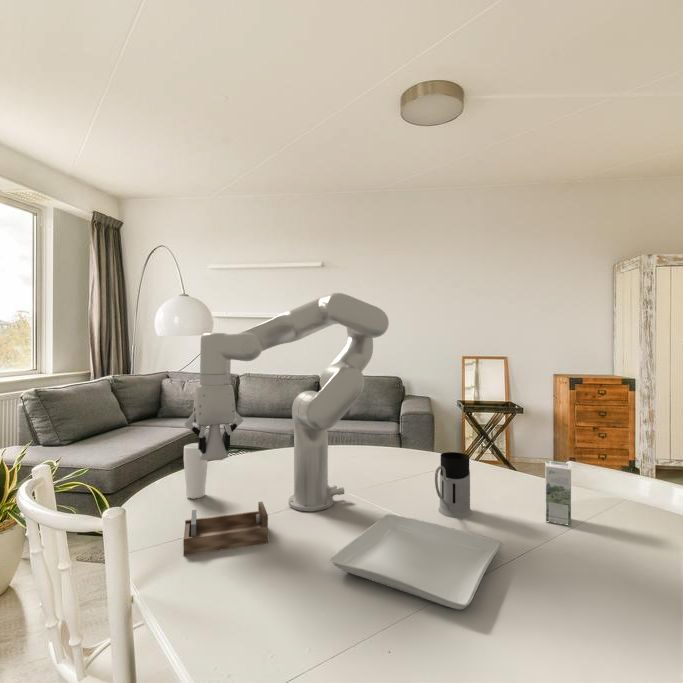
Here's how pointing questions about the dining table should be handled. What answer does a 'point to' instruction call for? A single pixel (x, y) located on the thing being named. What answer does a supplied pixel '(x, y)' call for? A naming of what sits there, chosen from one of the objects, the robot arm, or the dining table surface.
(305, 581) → the dining table surface
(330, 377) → the robot arm
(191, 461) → the drinking glass
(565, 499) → the syrup box
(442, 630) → the dining table surface
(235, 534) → the wooden tray
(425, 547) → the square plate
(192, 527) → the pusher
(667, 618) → the dining table surface
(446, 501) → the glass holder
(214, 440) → the flask
